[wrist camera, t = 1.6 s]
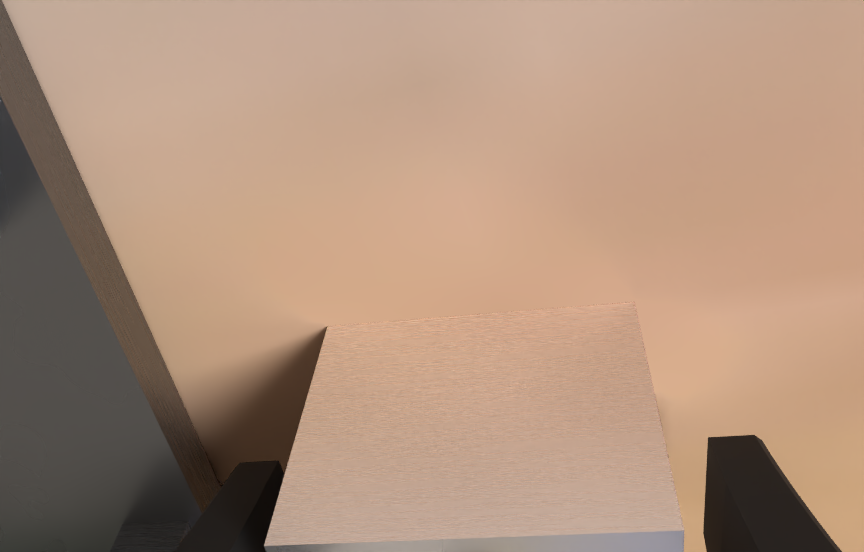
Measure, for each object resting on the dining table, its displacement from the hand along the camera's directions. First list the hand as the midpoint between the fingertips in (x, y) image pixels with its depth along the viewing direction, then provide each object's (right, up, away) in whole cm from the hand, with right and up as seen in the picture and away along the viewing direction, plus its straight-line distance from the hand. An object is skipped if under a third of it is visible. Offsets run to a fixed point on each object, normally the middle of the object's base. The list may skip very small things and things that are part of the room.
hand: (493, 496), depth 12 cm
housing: (0, +1, +1) cm, 2 cm away
